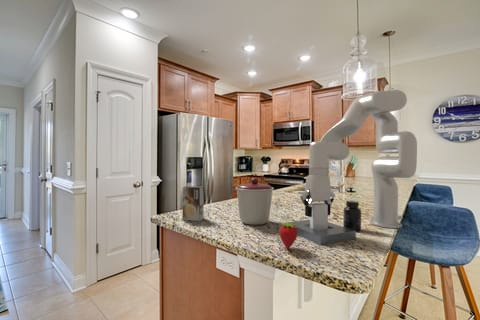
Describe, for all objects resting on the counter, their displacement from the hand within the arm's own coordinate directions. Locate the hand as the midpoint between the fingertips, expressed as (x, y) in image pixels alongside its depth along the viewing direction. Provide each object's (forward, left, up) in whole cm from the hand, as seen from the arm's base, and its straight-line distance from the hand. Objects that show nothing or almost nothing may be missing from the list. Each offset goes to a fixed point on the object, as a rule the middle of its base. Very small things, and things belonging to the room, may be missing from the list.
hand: (317, 215), depth 93 cm
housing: (0, 0, -7) cm, 7 cm away
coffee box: (+40, -43, -8) cm, 59 cm away
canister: (+15, -26, -8) cm, 31 cm away
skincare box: (0, 0, -8) cm, 8 cm away
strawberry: (+21, +8, -8) cm, 23 cm away
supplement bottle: (-18, +1, -8) cm, 20 cm away
